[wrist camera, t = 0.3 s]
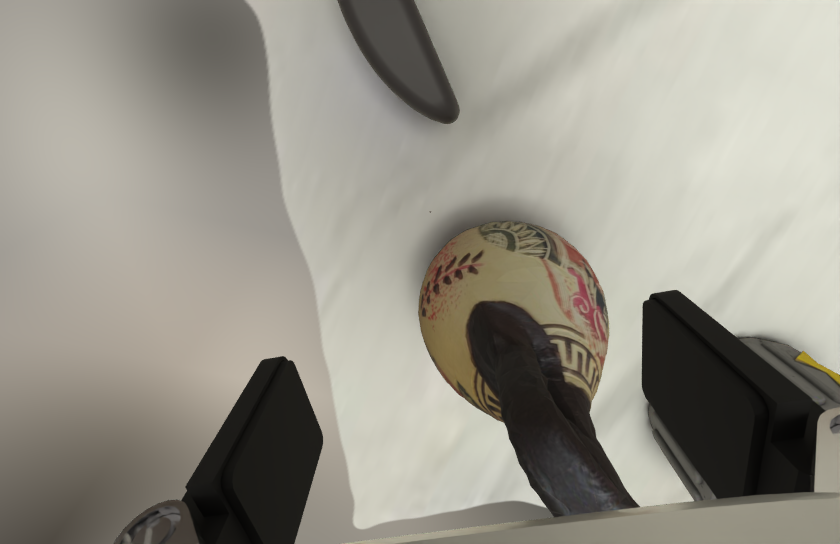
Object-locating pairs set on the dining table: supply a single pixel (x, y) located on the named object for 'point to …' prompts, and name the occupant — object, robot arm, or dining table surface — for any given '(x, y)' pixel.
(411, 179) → the dining table surface
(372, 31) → the rounded red-dot block
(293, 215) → the dining table surface
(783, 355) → the decorative lamp
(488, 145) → the dining table surface
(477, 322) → the ceramic jug
